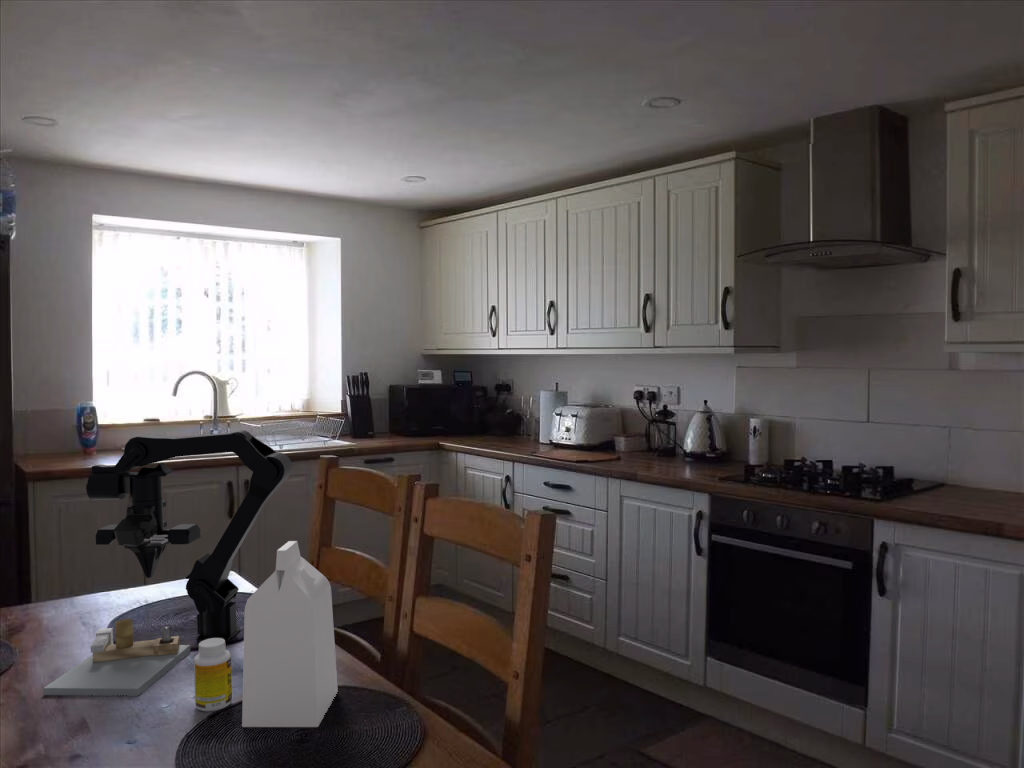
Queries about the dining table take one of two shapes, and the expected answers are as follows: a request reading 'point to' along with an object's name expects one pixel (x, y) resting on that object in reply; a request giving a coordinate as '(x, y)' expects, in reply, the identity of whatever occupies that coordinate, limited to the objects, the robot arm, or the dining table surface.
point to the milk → (289, 646)
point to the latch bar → (134, 645)
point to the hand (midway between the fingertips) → (149, 577)
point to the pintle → (166, 634)
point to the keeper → (102, 639)
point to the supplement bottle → (212, 675)
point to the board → (114, 675)
